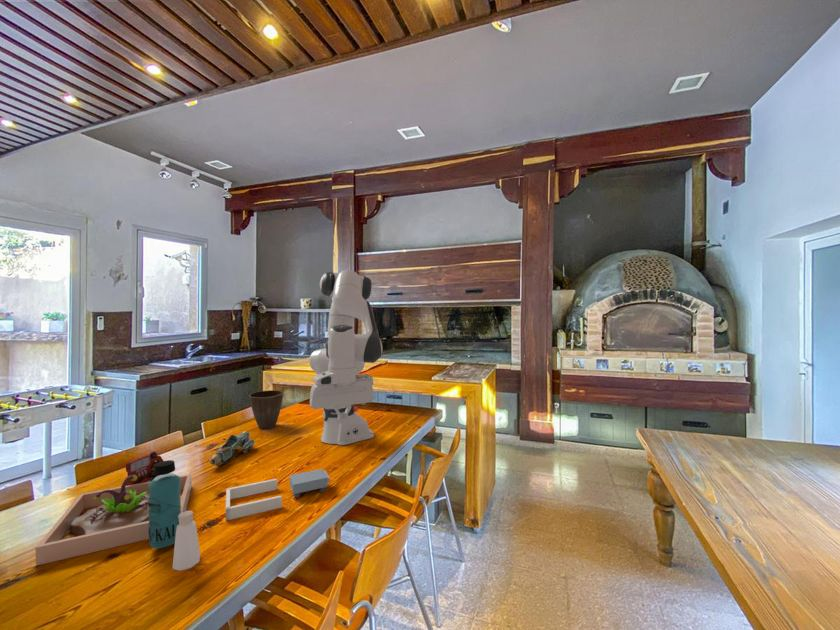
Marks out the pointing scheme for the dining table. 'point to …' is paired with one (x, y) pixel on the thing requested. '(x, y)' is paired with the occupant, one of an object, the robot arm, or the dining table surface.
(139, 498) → the plant
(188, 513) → the pepper shaker
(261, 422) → the plant pot
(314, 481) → the short grey brick
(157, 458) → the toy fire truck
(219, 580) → the dining table surface
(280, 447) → the dining table surface
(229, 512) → the bay
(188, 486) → the planter tray
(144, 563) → the dining table surface
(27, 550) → the dining table surface
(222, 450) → the hoverbike
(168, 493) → the beverage bottle
